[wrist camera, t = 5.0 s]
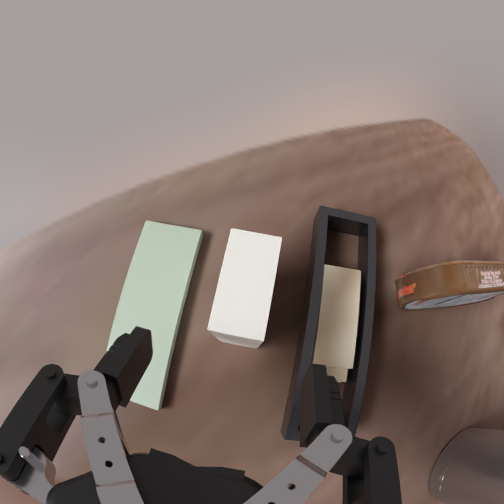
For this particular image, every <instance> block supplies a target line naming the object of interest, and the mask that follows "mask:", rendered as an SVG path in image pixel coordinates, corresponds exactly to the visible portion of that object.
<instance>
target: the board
mask: <svg viewBox="0 0 504 504" xmlns="http://www.w3.org/2000/svg"><path fill="white" fill-rule="evenodd" d="M202 238H203V233H202V230H197V229H192V228H186V227H180V226H174V225H169V224H163V223H157V222H151V221H146V223H145V225H144V228H143V230H142V233H141V236H140V239H139V241H138V244H137V247H136V250H135V253H134V256H133V259H132V262H131V265H130V268H129V271H128V274H127V277H126V280H125V283H124V287H123V290H122V293H121V297H120V300H119V304H118V307H117V311H116V315H115V319H114V322H113V326H112V330H111V334H110V338H109V343H108V347H107V351H109V348H110V347H111V346H112V345H113V343H114V342H115V340H116V339H117V338H118V337H119V336H121V335H123V334H124V333H128V334H130V333H131V332H132V331H133V329H134V328H135V327H136V326H139V327H142V328H145V329H149V330H151V335H152V347H153V356H152V360H151V362H150V364H149V366H148V368H147V369H146V371H145V373H144V375H143V377H142V378H141V380H140V382H139V384H138V386H137V388H136V389H135V391H134V393H133V395H132V397H131V399H130V401H133V402H135V403H138V404H141V405H144V406H147V407H149V408H152V409H155V410H160V409H161V408H162V403H163V398H164V393H165V388H166V383H167V378H168V373H169V369H170V364H171V359H172V355H173V351H174V346H175V342H176V337H177V333H178V329H179V325H180V321H181V317H182V312H183V308H184V304H185V300H186V297H187V293H188V289H189V285H190V281H191V277H192V274H193V270H194V266H195V263H196V259H197V255H198V252H199V248H200V245H201V241H202ZM107 351H106V352H107Z"/></svg>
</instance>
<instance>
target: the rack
mask: <svg viewBox="0 0 504 504" xmlns="http://www.w3.org/2000/svg"><path fill="white" fill-rule="evenodd" d="M327 229H329V230H334V231H338V232H343V233H348V234H353V235H357V236H359V247H358V270H360V271H361V283H360V301H359V315H358V327H357V337H356V346H355V355H354V362H353V369H348V372H347V379H346V382H345V387H344V392H343V398H342V408H343V415H344V422H345V427H346V428H348V429H349V430H350V432H351V434H352V435H353V436H355V434H356V430H357V425H358V421H359V416H360V411H361V406H362V401H363V395H364V390H365V384H366V377H367V371H368V364H369V356H370V348H371V339H372V329H373V318H374V304H375V286H376V218H372V217H368V216H364V215H360V214H356V213H351V212H347V211H342V210H338V209H333V208H329V207H324V206H320V207H319V209H318V212H317V214H316V216H315V218H314V225H313V235H312V244H311V253H310V262H309V270H308V278H307V286H306V293H305V300H304V307H303V314H302V321H301V327H300V333H299V340H298V346H297V351H296V357H295V363H294V368H293V374H292V379H291V384H290V390H289V395H288V400H287V404H286V409H285V414H284V419H283V423H282V428H281V433H282V435H283V437H284V439H285V440H296V441H300V425H299V422H300V388H301V384H302V381H303V379H304V377H305V374H306V372H307V369H308V367H309V365H310V364H311V360H312V354H313V348H314V342H315V335H316V328H317V321H318V314H319V306H320V298H321V290H322V281H323V271H324V261H325V250H326V238H327Z"/></svg>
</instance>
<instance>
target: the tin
mask: <svg viewBox="0 0 504 504" xmlns="http://www.w3.org/2000/svg"><path fill="white" fill-rule="evenodd" d="M395 284H396V288H397V300H398V306H399V307H400V308H401V309H404V310H417V309H431V308H444V307H453V306H460V305H467V304H472V303H478V302H482V301H486V300H489V299H492V298H494V297H495V296H498V295H501V294H504V261H473V260H458V261H449V262H444V263H438V264H433V265H429V266H425V267H421V268H418V269H415V270H412V271H409V272H407V273H404V274H402V275H400V276H399V277H397V278H396V280H395Z"/></svg>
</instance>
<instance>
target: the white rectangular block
mask: <svg viewBox="0 0 504 504" xmlns="http://www.w3.org/2000/svg"><path fill="white" fill-rule="evenodd" d="M281 241H282V237H277V236H271V235H266V234H260V233H255V232H249V231H244V230H238V229H233V228H231V232H230V236H229V240H228V244H227V248H226V252H225V256H224V260H223V264H222V269H221V273H220V277H219V281H218V285H217V290H216V294H215V298H214V302H213V307H212V311H211V316H210V320H209V324H208V329H207V330H208V331H209V332H211V333H212V334H213V335H214V336H215V337H216V338H218V339H219V340H220V341H222V342H226V343H231V344H236V345H241V346H246V347H251V348H258V347H259V346H260V345H261V344H262V343H263V342H264V338H265V333H266V327H267V322H268V317H269V311H270V305H271V300H272V294H273V288H274V283H275V277H276V271H277V265H278V259H279V253H280V247H281Z"/></svg>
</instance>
